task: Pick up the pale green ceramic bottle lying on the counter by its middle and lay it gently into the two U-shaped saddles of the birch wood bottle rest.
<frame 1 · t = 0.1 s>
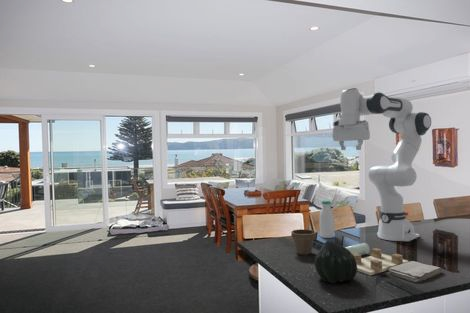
hand: (350, 150, 168), 48 cm above the kitchen island, tool pointing down, fingers open, 8 cm apart
bottle rest: (376, 264, 143), on the kitchen island
squash: (335, 280, 129), on the kitchen island
washcloth: (414, 274, 133), on the kitchen island
milk bottle: (327, 237, 191), on the kitchen island
flower pot: (303, 253, 163), on the kitchen island
ceramic bottle: (354, 256, 156), on the kitchen island
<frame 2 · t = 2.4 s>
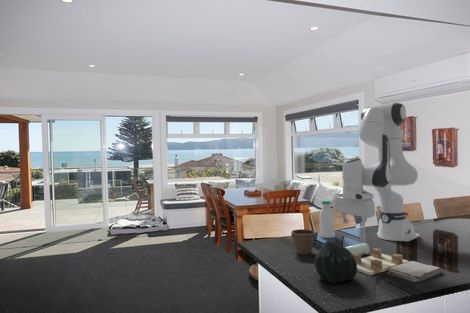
hand: (353, 224, 155), 14 cm above the kitchen island, tool pointing down, fingers open, 8 cm apart
nothing on the kitchen island moved.
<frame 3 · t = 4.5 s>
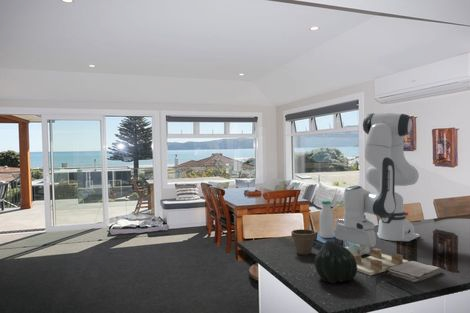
hand: (354, 252, 156), 2 cm above the kitchen island, tool pointing down, fingers closed on ceramic bottle, 5 cm apart
ceramic bottle: (354, 256, 156), on the kitchen island, touching gripper
everything else where it was.
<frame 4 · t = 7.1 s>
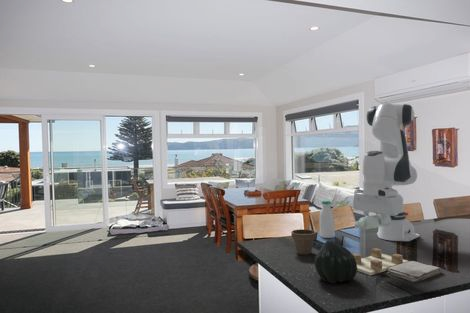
hand: (375, 223, 143), 17 cm above the kitchen island, tool pointing down, fingers closed on ceramic bottle, 5 cm apart
ceramic bottle: (375, 227, 143), point 16 cm above the kitchen island, touching gripper
everything else where it was.
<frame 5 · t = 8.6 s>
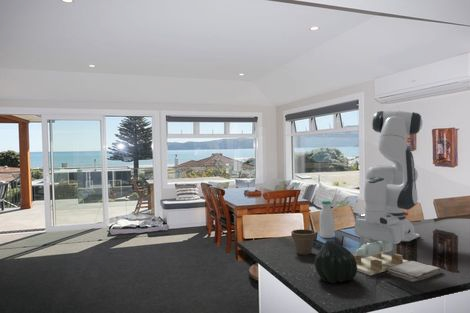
hand: (376, 250, 143), 6 cm above the kitchen island, tool pointing down, fingers closed on ceramic bottle, 5 cm apart
ceramic bottle: (376, 253, 143), point 5 cm above the kitchen island, touching gripper
everything else where it was.
when the fingers open (5 cm above the kitchen island, at t = 9.7 s): ceramic bottle drops 2 cm, resting on bottle rest.
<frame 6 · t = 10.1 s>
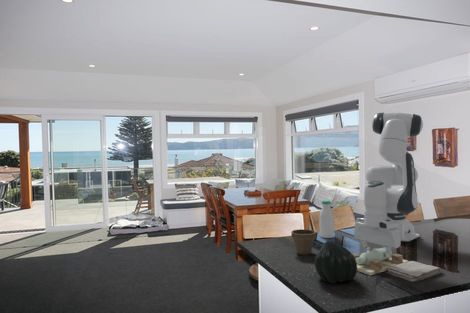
hand: (376, 253, 143), 5 cm above the kitchen island, tool pointing down, fingers open, 8 cm apart
ceramic bottle: (376, 261, 143), point 1 cm above the kitchen island, touching bottle rest
everything else where it was.
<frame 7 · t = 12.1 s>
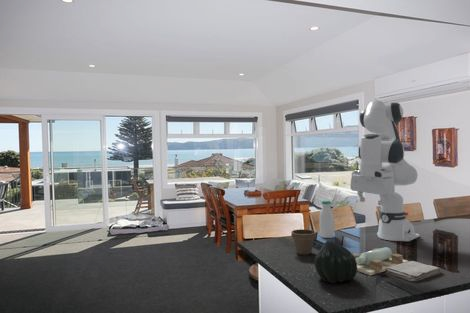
hand: (371, 203, 150), 25 cm above the kitchen island, tool pointing down, fingers open, 8 cm apart
nothing on the kitchen island moved.
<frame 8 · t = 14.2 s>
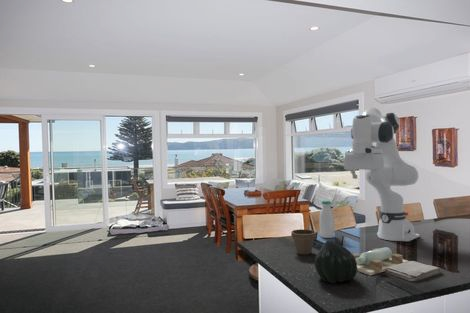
hand: (363, 179, 161), 34 cm above the kitchen island, tool pointing down, fingers open, 8 cm apart
nothing on the kitchen island moved.
at the end: ceramic bottle 0.1 cm off-centre on the bottle rest, point 1.2 cm above the bottle rest's base; the gripper is holding nothing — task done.
